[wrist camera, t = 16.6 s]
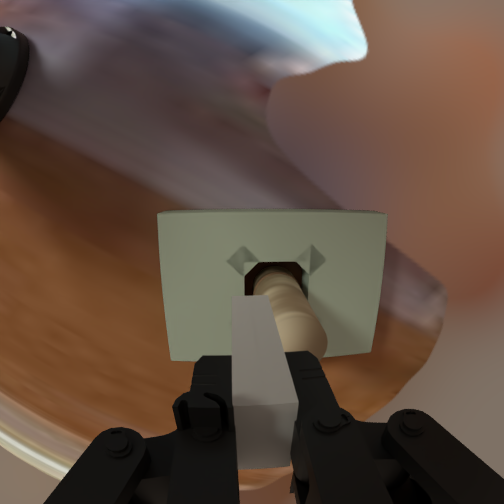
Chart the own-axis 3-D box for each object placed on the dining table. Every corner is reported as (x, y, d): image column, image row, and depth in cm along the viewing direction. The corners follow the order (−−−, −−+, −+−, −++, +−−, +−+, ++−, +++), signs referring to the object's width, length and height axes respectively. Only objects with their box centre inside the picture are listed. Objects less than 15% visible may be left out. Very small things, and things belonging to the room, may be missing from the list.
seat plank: (176, 345, 30) (171, 360, 27) (165, 210, 27) (157, 213, 24) (360, 338, 31) (370, 352, 28) (374, 210, 28) (387, 214, 25)
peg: (251, 303, 29) (260, 376, 18) (251, 262, 28) (261, 317, 17) (293, 302, 30) (324, 372, 18) (295, 261, 29) (332, 315, 17)
